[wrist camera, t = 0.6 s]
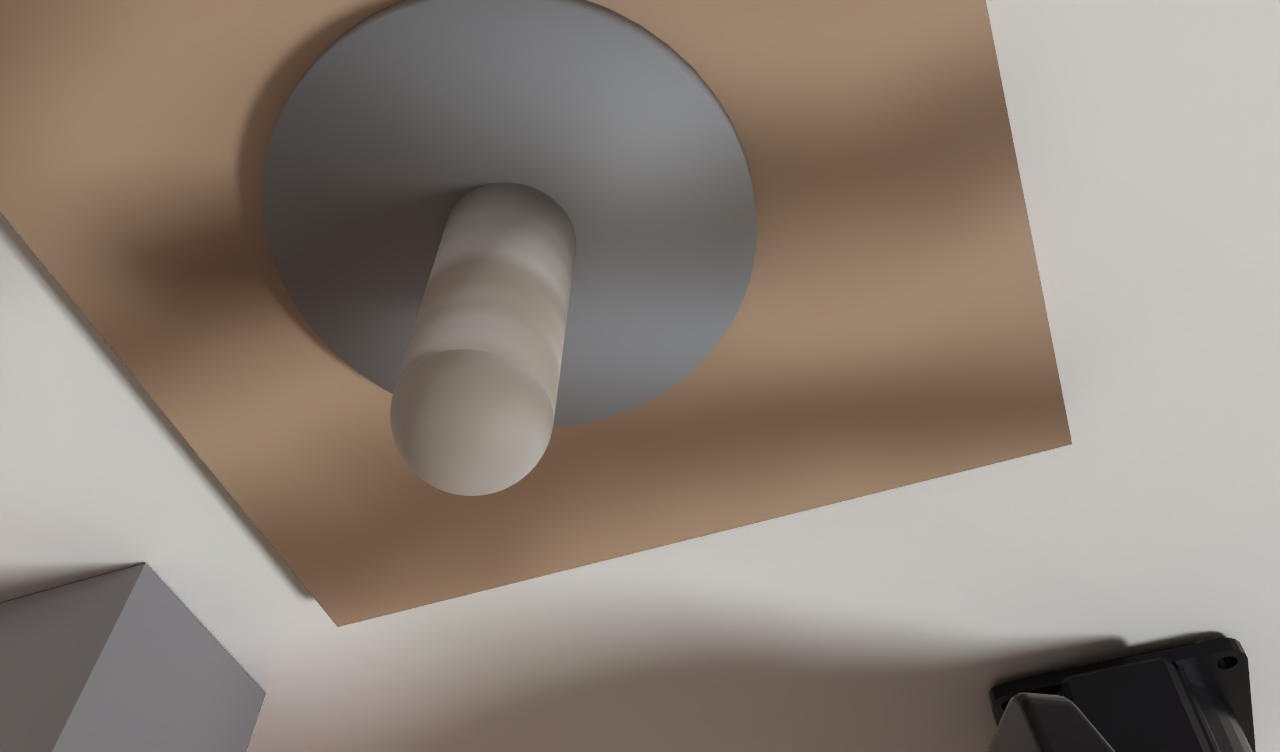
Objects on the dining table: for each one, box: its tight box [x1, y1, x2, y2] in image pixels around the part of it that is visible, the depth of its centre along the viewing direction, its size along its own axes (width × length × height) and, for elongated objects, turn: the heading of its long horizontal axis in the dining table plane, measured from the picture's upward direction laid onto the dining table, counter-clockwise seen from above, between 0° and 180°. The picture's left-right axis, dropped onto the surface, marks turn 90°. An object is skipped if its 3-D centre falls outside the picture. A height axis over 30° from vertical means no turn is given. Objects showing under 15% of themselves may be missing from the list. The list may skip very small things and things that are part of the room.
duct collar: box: [0, 563, 266, 752], centre depth 28 cm, size 6×6×6 cm
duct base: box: [0, 0, 1072, 627], centre depth 19 cm, size 18×18×8 cm
